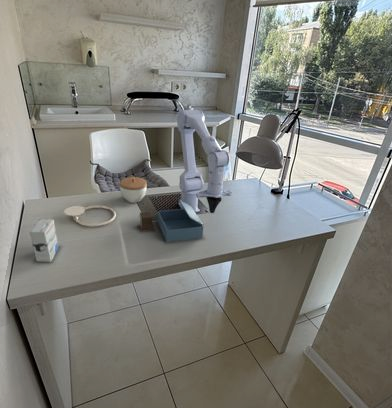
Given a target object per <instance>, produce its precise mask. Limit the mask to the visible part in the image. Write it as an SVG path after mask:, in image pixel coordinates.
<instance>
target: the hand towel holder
mask: <svg viewBox="0 0 392 408" xmlns="http://www.w3.org/2000/svg"><path fill="white" fill-rule="evenodd" d="M92 209H105V210H107V211H108V210H109V211H110V212H112V213H113V216H112V218H110V219H109V220H107V221H104V222H100V223H86V222H83V221H80V220H79V216H81V215H83V214H84V213H85V211H86V210H92ZM63 213H64V214H65V215H66V216H68V217H73V218H72V220H73V221H74V222H76V223H77V224H79V225H80V226H84V227H91V228H94V227H95V228H97V227H103V226H106V225H108V224H110V223H112V222H114V220H115V219H116V217H117V213H116V211H115V210H114V209H113V208H112V207H110V206H107V205H98V204H97V205H89V206H85V207H83V206H80V205H73V206H69V207H66V208H65V209H64V211H63Z"/></svg>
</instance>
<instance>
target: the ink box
mask: <svg viewBox="0 0 392 408" xmlns="http://www.w3.org/2000/svg"><path fill="white" fill-rule="evenodd" d="M54 221H55V220H54V219H41V218H40V219H38V220H37V221H36V223H35V224H34V226H33V227H32V228H31V230H29V236H30V240H31V244H32V248H33V252H34V256H35V260H36V262H44V263H45V262H46V263H47V262H48V263H49V262H50V263H51V262H52V261H53V259H54V257H55V255H56V253H57V251H58V249H59V242H58V237H57V231H56V226H55V222H54Z"/></svg>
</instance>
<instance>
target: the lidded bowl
mask: <svg viewBox="0 0 392 408" xmlns="http://www.w3.org/2000/svg"><path fill="white" fill-rule="evenodd" d="M147 186H148V182H147V180H146V179H144V178H142V177H139V176H130V177H129V176H128V177H124V178H122V179H121V180H119V190H120V194H121V196H122V197H123V199H124V200H126V201H127V202H128V203H130V204H131V203H132V204H136V203H139V202H141V201H142V200H144V198H145V197H146V194H147V188H148V187H147Z"/></svg>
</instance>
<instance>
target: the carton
mask: <svg viewBox="0 0 392 408" xmlns="http://www.w3.org/2000/svg"><path fill="white" fill-rule="evenodd" d="M157 224H158V227H159V229H160V230H161V234H162V235H163V237H164V240H165V242H166V243H168V242H177V241H186V240H194V239H201V238H203V234H204V224H203V225H201V224H199V223H198V222H196V221H194V220H192V219H191V218H189V216H188V214H187V213H186V211H185V210H184V209H181V208H175V209H166V210H157Z"/></svg>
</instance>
